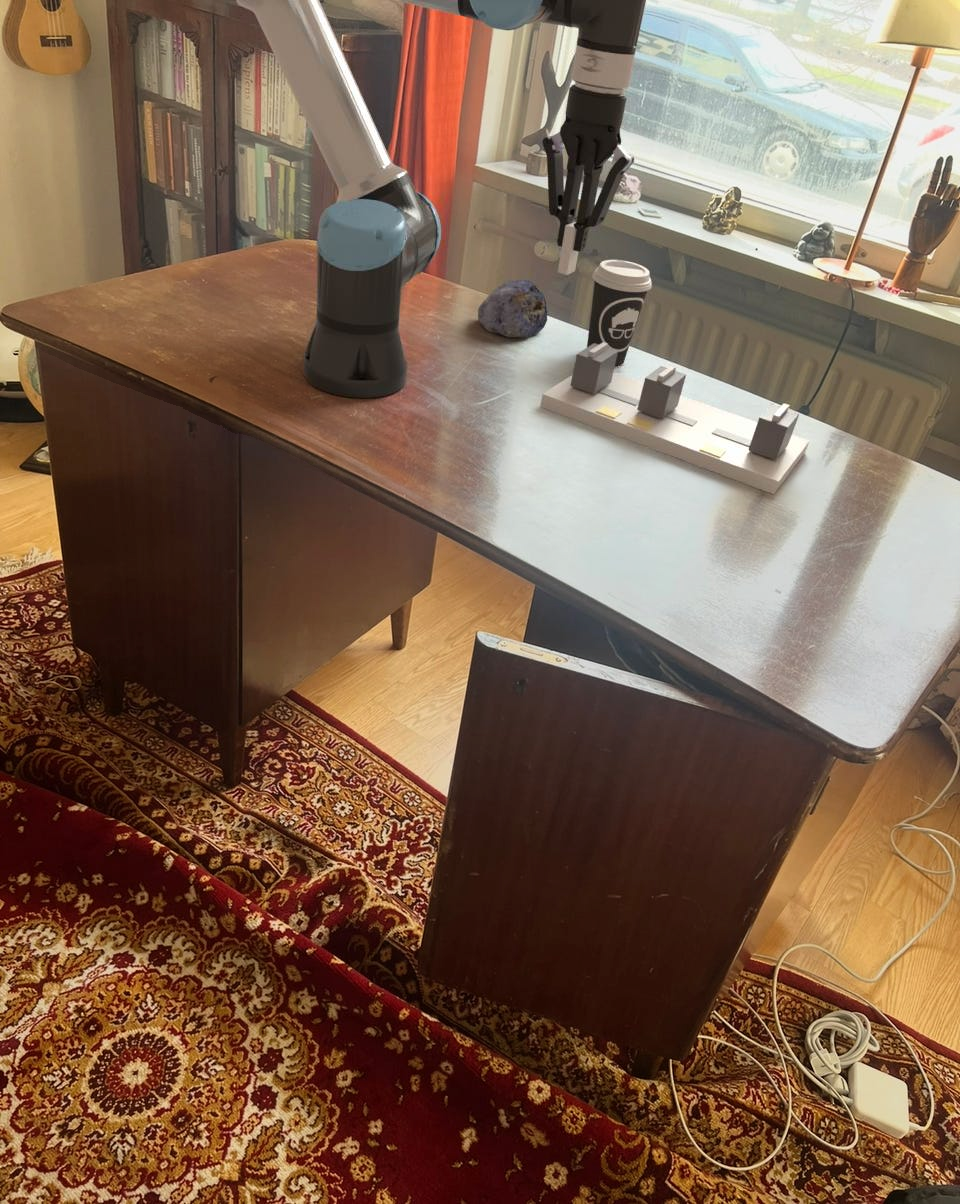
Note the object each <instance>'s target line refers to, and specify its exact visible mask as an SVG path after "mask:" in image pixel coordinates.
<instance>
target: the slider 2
mask: <svg viewBox="0 0 960 1204" xmlns="http://www.w3.org/2000/svg"><path fill="white" fill-rule="evenodd" d="M676 369H677V366H675V365H671V364H670V365H669V366H668V367H666V366H662V365H660V366H659V367H657V368H656V369H655V370H654V371H652V372H651V373H649V374H648V375H647V376H645V378H644V385H643V389H642V393H641V397H640V401H639V405H638V409H637V410H639V411H641V412H644V413H647V414H650V415H652V416H655V417H658V418H661V419H663V418H664V417H665V416H667V415H668V414H669V413H670V412H671V411H672V410H674V409H675V408H676V407H677V406H678V402H679V399H680V395H681V396H682V392H683V387H684V384H685V380H686V376H687V374H686V373H683V372H680V371H677V370H676Z"/></svg>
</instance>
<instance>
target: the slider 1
mask: <svg viewBox="0 0 960 1204" xmlns="http://www.w3.org/2000/svg"><path fill="white" fill-rule="evenodd" d="M607 347H608V343H605V342H603V343H601V344H600V345H598V344H595V343H594V344H592V345H590V346H589V347H587V346H586V347H585V348H584V349H583V350H581V351H578V353H576V357H575V361H574V365H573V366H574V367H573V371H572V374H571V375H572V380H571V385H570V386H573V387H575V388H578V389H581V390H584V391H586V392H589V393H592V394H595V393H597V392H598V391H600V390H601V389H602V388H604V387H605V386H607V385H608V384H610V383H611V380H612V376H613V372H614V370H615V367H616V366H615V363H616V358H617V354H618V351H616V350H613V349H610V348H607Z"/></svg>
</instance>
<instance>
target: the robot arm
mask: <svg viewBox="0 0 960 1204" xmlns="http://www.w3.org/2000/svg"><path fill="white" fill-rule="evenodd" d="M235 1H236V4H237V5H238V6H240V7H243V8H244V9H247V10H249V11H251V12H252V13H254V15H255V17H256V19H257V21H258V23H259V25H260V28H261V30H262V31H263V34H264V35H265V38H266V39H267V43H268V45H269V47H270V48H271V50H272V53H273V55H274V57H275V58H276V62H277V63H278V65H279V67H280V69H281V71H282V74H283V75H284V78H285V80H286V82H287V84H288V86H289V88H290V89H291V93H292V94H293V96H294V99H295V101H296V103H297V105H298V107H299V108H300V112H301V113H302V115H303V118H304V120H305V122H306V124H307V125H308V128H309V130H310V132H311V134H312V136H313V139H314V140H315V142H316V144H317V146H318V149H319V151H320V153H321V155H322V157H323V159H324V161H325V163H326V165H327V167H328V169H329V172H330V173H331V176H332V178H333V180H334V182H335V184H336V186H337V188H338V195H337V199H336V202H335V203H333V204H331V205H329V206H328V207H327V208H325V209H324V211H323V212H322V213H321V215H320V217H319V222H318V230H317V236H316V245H317V246H316V247H317V252H316V253H317V255H316V256H317V260H316V261H317V262H316V263H317V267H316V270H317V271H316V273H317V274H316V320H315V325H314V327H313V330H312V332H311V335H310V339H309V340H308V344H307V346H306V350H305V352H304V355H303V360H302V361H303V362H302V364H303V365H302V367H303V368H302V369H303V370H302V374H303V378H304V379H305V380H306V382H308V384H310V385H311V386H312V387H315V388H317V389H318V390H320V391H323V392H325V393H328V394H333V395H336V396H342V397H347V398H357V399H370V398H379V397H386V396H389V395H392V394H395V393H397V392H399V391H400V390H402V388H404V387H405V386H406V383H407V377H408V364H407V361H406V358H405V353H404V348H403V344H402V339H401V336H400V329H399V328H400V327H399V325H400V323H399V322H400V311H401V300H402V299H401V298H402V289H403V287H404V286H405V285H406V284H407V283H409V281H410V280H412V279H414V277H416V276H417V275H420V274H421V273H422V272H423V271H424V270H425V269H426V268H427V267H428V266H429V265H430V264H431V262H432V261H433V258H434V257H435V256H436V254H437V252H438V250H439V247H440V244H441V239H442V238H441V237H442V226H441V225H442V224H441V221H440V218H439V217H440V216H439V213H438V212H437V209H436V208H435V206H434V205H433V203H432V202H431V201H430V199H428V198H427V196H425V195H424V194H422V193H420V192H419V191H417V190H416V187H415V186H414V183H413V181H412V179H411V177H410V174H409V172H408V171H407V169H405V168H402V167H400V166H398V165H396V164H394V163H393V162H392V160H391V158H390V155H389V152H388V151H387V149H386V147H385V144H384V142H383V140H382V138H381V135H380V133H379V131H378V128H377V127H376V124H375V121H374V120H373V118H372V115H371V113H370V110H369V109H368V106H367V104H366V101H365V99H364V97H363V95H362V92H361V90H360V88H359V86H358V84H357V81H356V79H355V77H354V75H353V73H352V71H351V68H350V66H349V64H348V62H347V60H346V57H345V55H344V52H343V50H342V48H341V46H340V44H339V41H338V40H337V37H336V35H335V33H334V31H333V29H332V26H331V23H330V21H329V19H328V17H327V15H326V13H325V11H324V8H323V6H322V4H321V2H320V0H235ZM395 1H396V2H400V3H404V4H408V5H413V6H417V7H421V8H425V9H426V8H427V9H429V10H434V11H439V12H443V13H447V14H453V15H455V16H461V17H465V18H467V19H472V20H474V21H478V22H482V23H484V24H485V25H486V26H488V27H490V28H493V29H496V30H501V31H513V30H515V31H516V30H517V29H520V28H523V26H526V25H530V24H532V23H542V24H551V25H557V26H564V27H567V28H576V29H578V31H577V32H578V34H577V39H576V40H577V41H576V47H575V53H574V59H573V65H572V71H571V76H570V77H571V79H572V81H573V82H574V84H572V85H571V86H570V87H569V88H568V89H569V90H568V95H567V101H566V107H565V117H564V118H565V119H564V122H563V124H562V125H561V126H560V129H559V132H557V133H555V134H553V135H551V136H547V137H546V136H545V137H543V138H542V143H541V144H542V147H543V149H544V150H543V151H545V152H544V153H545V155H546V165H547V166H546V167H547V171H546V172H547V190H548V191H547V193H548V212H549V214H550V215H551V216H554V217H555V218H557V219H558V221H559V229H558V233H557V241H556V243H557V247H561V249H560V256H559V262H558V269H557V273H558V274H562V275H565V276H568V275H570V274H571V273H574V272H576V269H577V268H576V266H577V263H578V257H579V252H582V251H584V250H585V248H586V245H587V239H588V235H589V230H590V228H591V227H596V226H599V225H602V224H603V223H604V221H605V219H606V217H607V214H608V212H609V210H610V207H611V205H612V203H613V200H614V197H615V195H616V193H617V191H618V188H619V186H620V184H621V182H622V179H623V177H624V175H625V173H626V172H627V170H628V169H629V168H630V167H631V166H632V165H633V164H634V162H635V156H634V155H633V154H631V153H630V154H628V153H627V151H626V150H625V149H624V148H623V147H622V146H621V145H622V136H621V126H622V124H623V119H624V114H625V110H626V108H625V107H626V104H627V98H628V96H627V94H626V93H625V92H624V91H625V90H627V89H628V88H629V87H630V83H631V78H632V73H633V72H632V71H633V67H634V61H635V56H636V51H637V45H638V40H639V36H640V31H641V27H642V21H643V17H644V12H645V8H646V4H647V0H394V2H395ZM563 148H565V152H566V154H567V161H566V162H567V164H566V179H565V177H564V156H563V154H564V153H563ZM612 156H613V158H612V160H611V165H612V166H611V168H610V170H609V172H608V173H607V176H606V179H605V181H604V182H603V186H602V188H601V190H600V193H599V195H598V197H597V193H598V187H599V182H600V178H601V177H600V176H601V174H602V172H603V169H604V164H606V162H607V161H608V160H609V159H610V158H611V157H612ZM583 175H584V177H583ZM564 179H565V180H564ZM582 179H583V181H582ZM582 182H583V183H582ZM580 190H581V191H580ZM580 192H581V193H580ZM579 198H580V199H579ZM596 198H597V199H596ZM578 203H579V204H578ZM577 207H578V210H577ZM576 213H577V215H576ZM574 220H575V221H574Z"/></svg>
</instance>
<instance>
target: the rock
mask: <svg viewBox="0 0 960 1204" xmlns="http://www.w3.org/2000/svg"><path fill="white" fill-rule="evenodd" d="M546 302H547V301H546V298H545V295H544V293H543V292H542V291H540V289H538V288H537V286H536V285H535V283H533V282H532V281H530V280H523V279H522V280H515V281H514V280H509V281H508V280H507V281H504V282H503V283H502V285H500V286H498V287H497V288H496V289H494V290H493V291H492V292H491V293H490V294H489V295H488V296H487V297H486V298H485V300H484V301H482V303H481V304H480V305H479V307H478V309H477V319H478V322H480V324H482V326H483V327H484V329H485V330H486V331H488V332H491V333H495V334H496V333H498V334H499V335H501V336H504V337H508V338H518V337H519V338H520V337H522V338H529V337H531V336H535V335H537V334H539V333H540V332H541V331H542V330H543V329H544V328H545V327H546V326H545V325H547V322H548V309H547V303H546Z"/></svg>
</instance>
